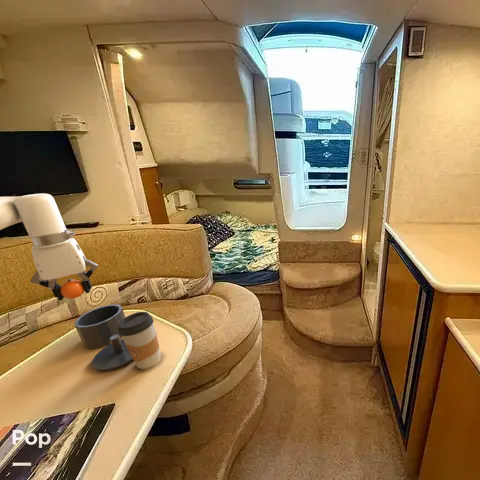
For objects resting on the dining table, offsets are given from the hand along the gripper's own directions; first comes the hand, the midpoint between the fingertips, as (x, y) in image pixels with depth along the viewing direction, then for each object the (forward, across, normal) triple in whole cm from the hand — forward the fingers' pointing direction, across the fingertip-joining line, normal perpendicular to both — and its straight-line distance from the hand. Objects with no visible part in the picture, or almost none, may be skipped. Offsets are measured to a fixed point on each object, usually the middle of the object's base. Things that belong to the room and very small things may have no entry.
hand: (75, 294), depth 81 cm
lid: (+19, -7, +9) cm, 22 cm away
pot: (+20, -2, -5) cm, 21 cm away
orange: (+1, 0, 0) cm, 1 cm away
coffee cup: (+20, -14, +18) cm, 31 cm away
